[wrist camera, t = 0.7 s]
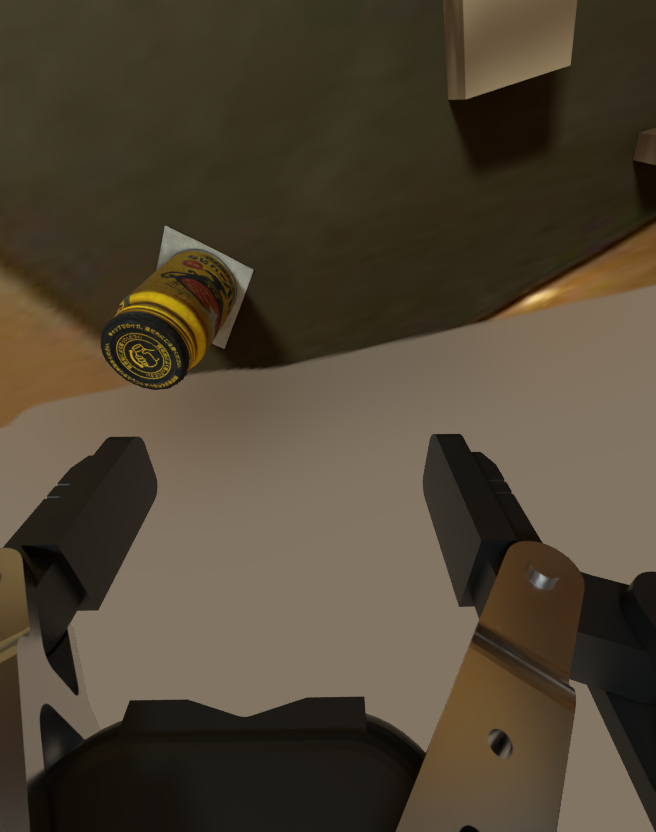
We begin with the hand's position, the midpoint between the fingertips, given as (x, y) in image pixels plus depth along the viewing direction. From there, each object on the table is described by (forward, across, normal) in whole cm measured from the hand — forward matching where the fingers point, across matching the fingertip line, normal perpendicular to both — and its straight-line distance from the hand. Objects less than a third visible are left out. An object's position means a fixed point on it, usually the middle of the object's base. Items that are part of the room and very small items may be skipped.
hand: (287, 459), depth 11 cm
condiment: (+25, +10, +2) cm, 27 cm away
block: (+22, -11, -14) cm, 28 cm away
